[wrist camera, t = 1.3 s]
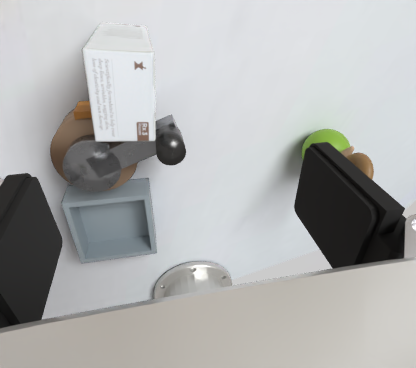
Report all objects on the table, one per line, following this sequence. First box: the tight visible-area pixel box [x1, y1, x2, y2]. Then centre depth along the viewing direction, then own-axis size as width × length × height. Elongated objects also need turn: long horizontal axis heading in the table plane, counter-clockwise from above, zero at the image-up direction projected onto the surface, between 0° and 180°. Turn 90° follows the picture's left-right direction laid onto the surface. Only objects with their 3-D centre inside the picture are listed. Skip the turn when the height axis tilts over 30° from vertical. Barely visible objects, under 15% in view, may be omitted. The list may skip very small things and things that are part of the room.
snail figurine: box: [302, 129, 374, 180], centre depth 33 cm, size 5×6×12 cm
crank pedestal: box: [50, 101, 138, 191], centre depth 30 cm, size 9×8×4 cm
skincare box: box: [82, 23, 156, 142], centre depth 24 cm, size 6×4×12 cm
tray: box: [62, 178, 157, 263], centre depth 36 cm, size 9×9×4 cm
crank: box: [63, 114, 186, 192], centre depth 27 cm, size 11×5×5 cm, turn 110°
